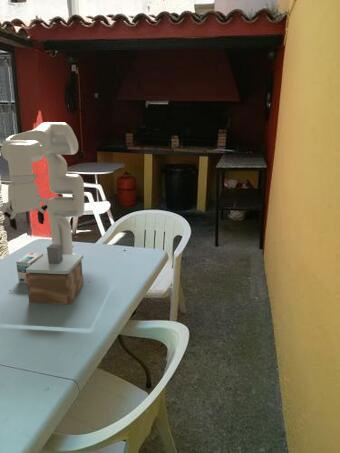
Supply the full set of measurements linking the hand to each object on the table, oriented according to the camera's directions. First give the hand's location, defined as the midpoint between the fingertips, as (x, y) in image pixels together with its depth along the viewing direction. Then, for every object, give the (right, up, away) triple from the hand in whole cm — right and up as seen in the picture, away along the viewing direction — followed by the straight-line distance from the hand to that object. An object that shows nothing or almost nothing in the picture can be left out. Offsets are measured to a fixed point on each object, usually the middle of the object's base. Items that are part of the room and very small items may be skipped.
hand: (28, 225), depth 127 cm
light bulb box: (-9, -24, +27) cm, 37 cm away
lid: (+8, -15, +8) cm, 19 cm away
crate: (+6, -28, +14) cm, 32 cm away
